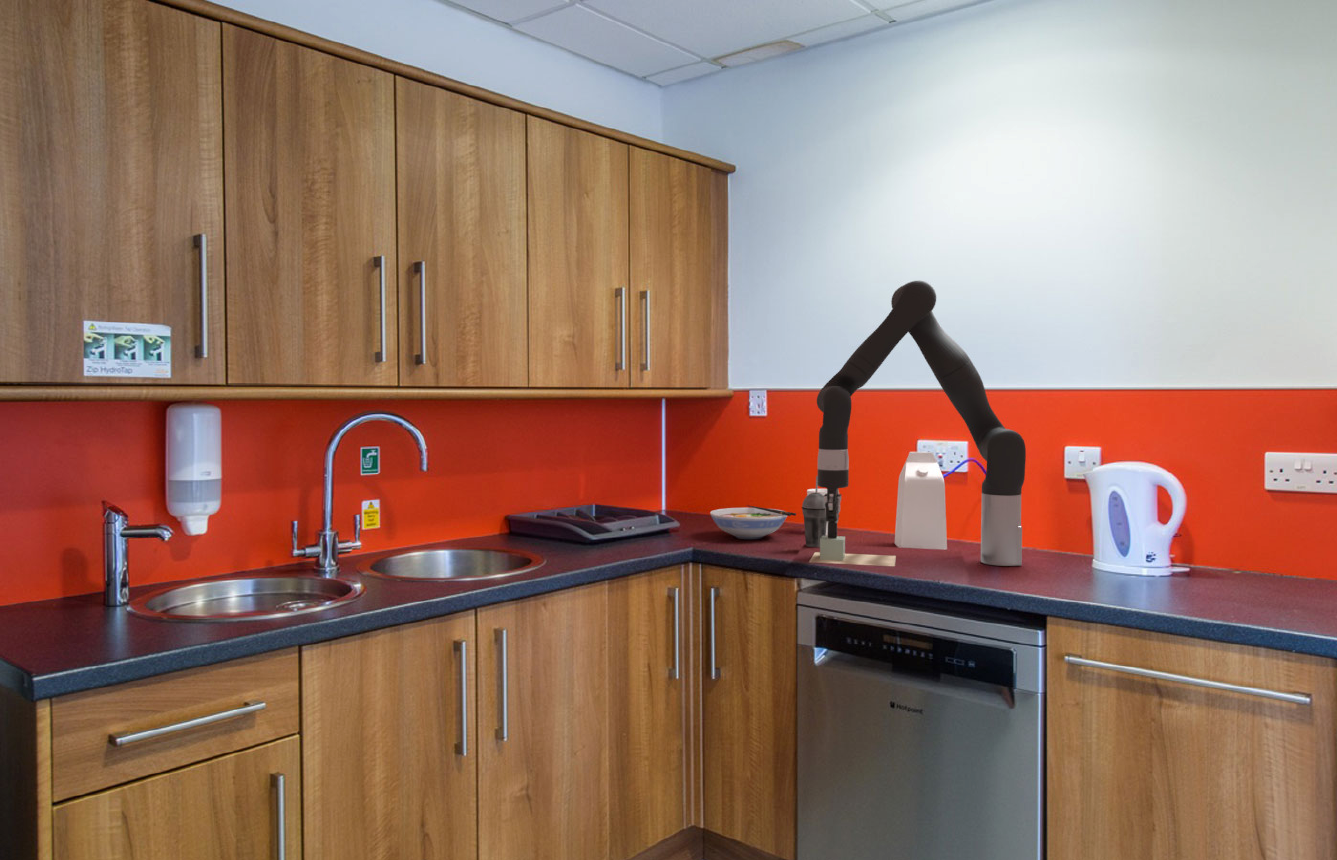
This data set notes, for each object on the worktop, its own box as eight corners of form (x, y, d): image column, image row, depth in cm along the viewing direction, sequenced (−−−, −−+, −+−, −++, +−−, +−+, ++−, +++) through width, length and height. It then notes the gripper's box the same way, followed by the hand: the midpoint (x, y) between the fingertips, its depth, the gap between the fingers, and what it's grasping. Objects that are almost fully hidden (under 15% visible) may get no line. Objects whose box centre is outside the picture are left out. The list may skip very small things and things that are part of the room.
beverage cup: (797, 552, 240) (798, 476, 239) (806, 548, 246) (807, 474, 245) (824, 554, 236) (824, 478, 236) (832, 550, 243) (833, 475, 242)
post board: (895, 561, 226) (896, 539, 226) (894, 572, 213) (894, 549, 212) (814, 558, 231) (815, 536, 231) (808, 568, 218) (809, 545, 218)
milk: (938, 544, 253) (939, 450, 252) (947, 551, 241) (948, 453, 240) (894, 543, 254) (895, 450, 253) (901, 550, 243) (902, 453, 242)
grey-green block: (844, 556, 225) (845, 536, 225) (843, 560, 220) (843, 540, 219) (822, 555, 227) (822, 535, 226) (819, 559, 221) (820, 539, 221)
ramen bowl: (694, 534, 271) (694, 506, 270) (760, 529, 280) (760, 502, 280) (735, 547, 248) (735, 517, 248) (806, 541, 258) (806, 512, 257)
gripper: (846, 470, 215) (845, 542, 216) (850, 465, 228) (849, 534, 228) (814, 469, 217) (814, 541, 218) (820, 465, 230) (819, 533, 230)
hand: (832, 537), depth 223 cm, fingers closed
